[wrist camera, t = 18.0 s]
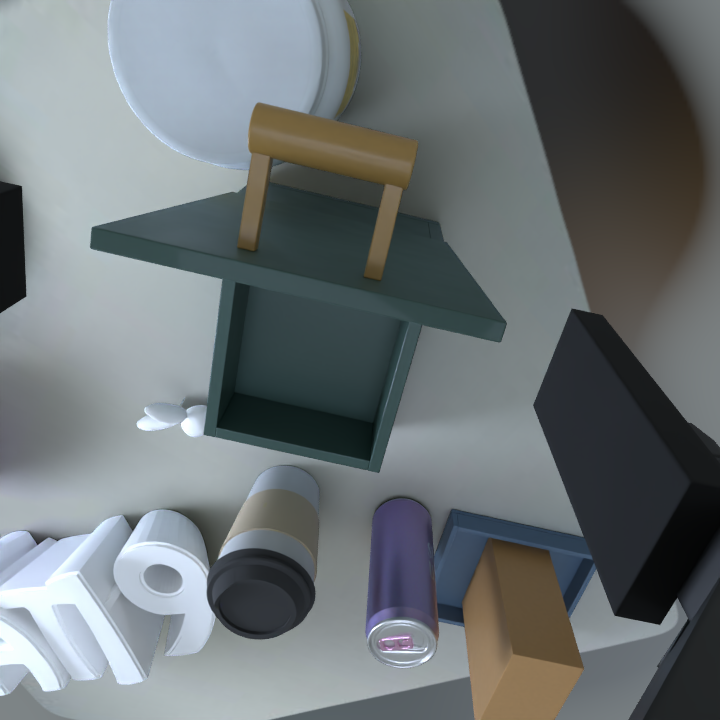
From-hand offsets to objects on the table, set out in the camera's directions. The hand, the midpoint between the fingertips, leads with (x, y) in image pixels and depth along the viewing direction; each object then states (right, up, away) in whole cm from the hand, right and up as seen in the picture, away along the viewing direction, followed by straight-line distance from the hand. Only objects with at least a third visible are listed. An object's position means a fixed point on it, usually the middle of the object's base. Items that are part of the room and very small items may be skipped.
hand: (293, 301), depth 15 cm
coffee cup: (-6, -15, +47) cm, 50 cm away
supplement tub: (-4, +21, +29) cm, 36 cm away
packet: (+17, -24, +49) cm, 57 cm away
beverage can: (+6, -17, +47) cm, 51 cm away
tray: (+17, -24, +50) cm, 57 cm away
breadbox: (-1, +3, +38) cm, 38 cm away
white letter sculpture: (-28, -23, +53) cm, 64 cm away
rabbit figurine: (-15, -5, +43) cm, 46 cm away
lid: (0, +4, +17) cm, 18 cm away
